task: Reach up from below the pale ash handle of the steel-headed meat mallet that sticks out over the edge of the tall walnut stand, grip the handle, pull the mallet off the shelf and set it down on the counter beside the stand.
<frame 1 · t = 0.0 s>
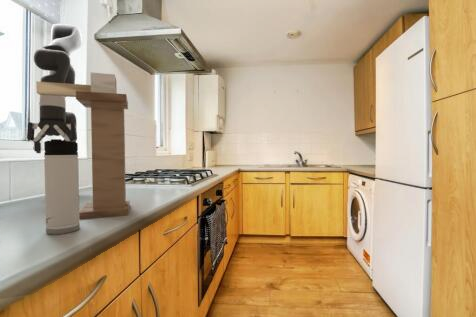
hand: (53, 153, 95), 17 cm above the countertop, tool pointing down, fingers open, 8 cm apart
travel mug: (63, 231, 60), on the countertop
stand: (106, 211, 80), on the countertop
mallet: (96, 97, 78), point 33 cm above the countertop, touching stand
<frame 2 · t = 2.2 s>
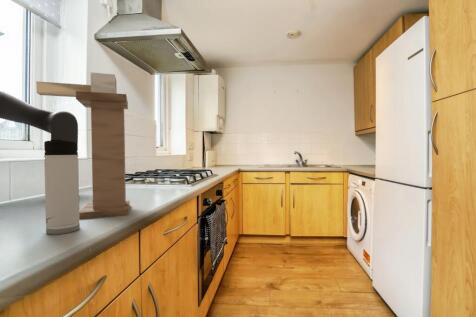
nothing on the countertop moved.
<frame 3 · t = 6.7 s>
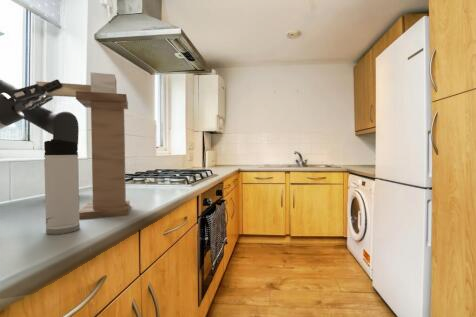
hand: (62, 84, 75), 36 cm above the countertop, tool pointing upward, fingers closed on mallet, 3 cm apart
mallet: (96, 97, 78), point 33 cm above the countertop, touching gripper, stand
everything else where it was.
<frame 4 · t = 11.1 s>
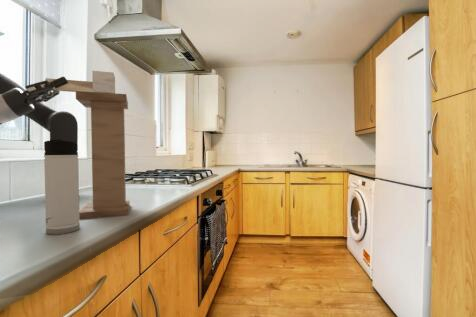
hand: (67, 81, 86), 40 cm above the countertop, tool pointing upward, fingers closed on mallet, 3 cm apart
mallet: (97, 92, 89), point 37 cm above the countertop, touching gripper
everything else where it was.
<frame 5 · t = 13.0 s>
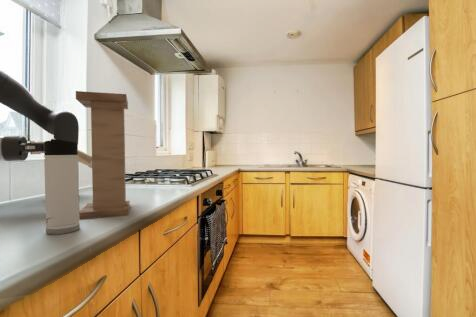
hand: (71, 147, 87), 19 cm above the countertop, tool horizontal, fingers closed on mallet, 3 cm apart
mallet: (93, 167, 89), point 12 cm above the countertop, tilted 29°, touching gripper
everything else where it was.
when the fingers open (8 cm above the countertop, at t = 15.6 s): mallet drops 2 cm, on the countertop.
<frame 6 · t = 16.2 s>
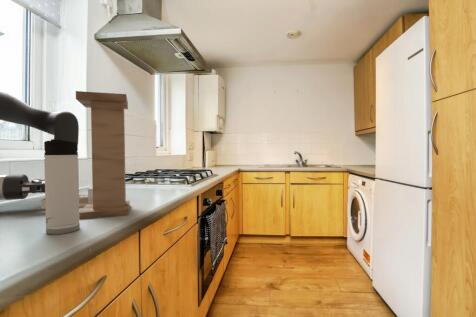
hand: (69, 184, 87), 7 cm above the countertop, tool horizontal, fingers open, 8 cm apart
mallet: (93, 205, 90), on the countertop
everything else where it was.
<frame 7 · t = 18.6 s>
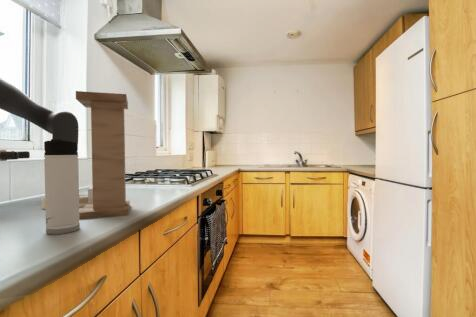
hand: (24, 155, 83), 17 cm above the countertop, tool horizontal, fingers open, 8 cm apart
nothing on the countertop moved.
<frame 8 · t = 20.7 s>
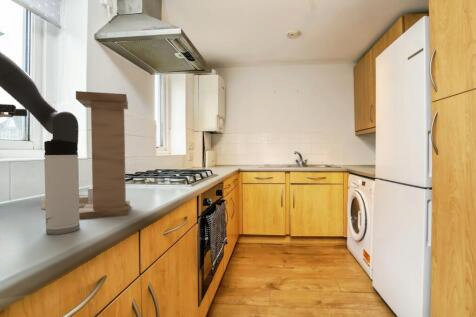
hand: (21, 110, 83), 30 cm above the countertop, tool horizontal, fingers open, 8 cm apart
nothing on the countertop moved.
at the end: mallet on the countertop; mallet touching countertop; the gripper is holding nothing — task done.
